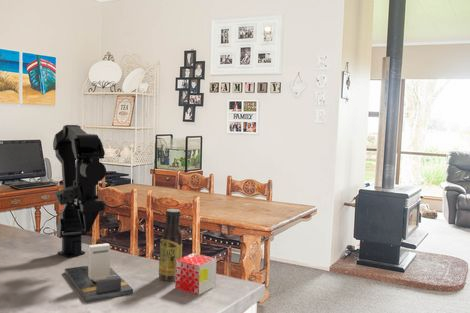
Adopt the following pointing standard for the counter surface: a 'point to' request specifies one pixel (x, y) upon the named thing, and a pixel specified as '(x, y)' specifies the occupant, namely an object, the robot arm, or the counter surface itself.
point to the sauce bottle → (170, 246)
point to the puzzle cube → (195, 273)
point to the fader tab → (99, 262)
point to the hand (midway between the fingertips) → (85, 230)
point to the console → (97, 284)
